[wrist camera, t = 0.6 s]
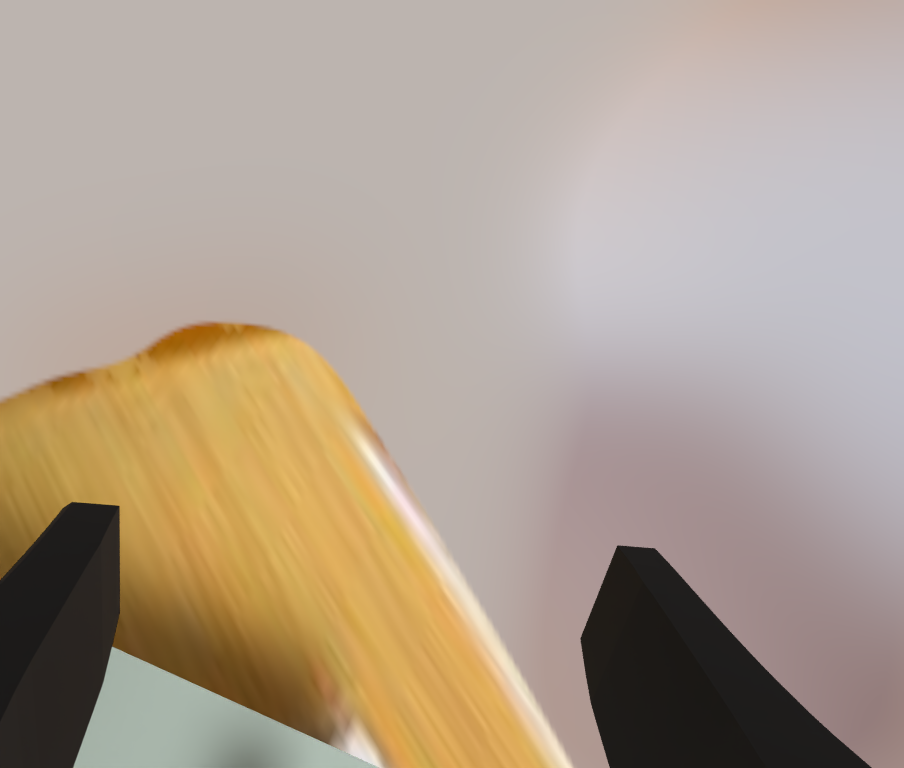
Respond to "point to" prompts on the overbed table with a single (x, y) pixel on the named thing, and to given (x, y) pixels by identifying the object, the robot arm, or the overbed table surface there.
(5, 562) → the overbed table surface
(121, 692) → the lid
